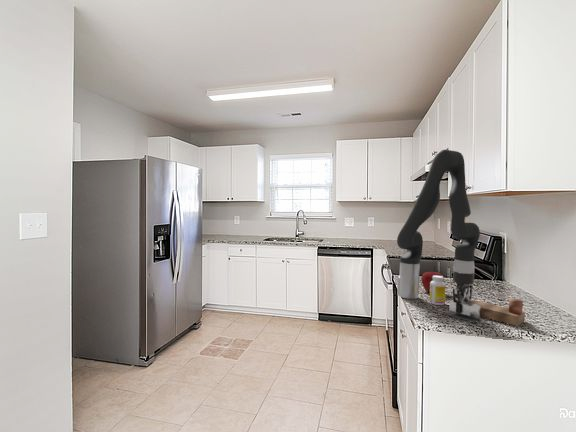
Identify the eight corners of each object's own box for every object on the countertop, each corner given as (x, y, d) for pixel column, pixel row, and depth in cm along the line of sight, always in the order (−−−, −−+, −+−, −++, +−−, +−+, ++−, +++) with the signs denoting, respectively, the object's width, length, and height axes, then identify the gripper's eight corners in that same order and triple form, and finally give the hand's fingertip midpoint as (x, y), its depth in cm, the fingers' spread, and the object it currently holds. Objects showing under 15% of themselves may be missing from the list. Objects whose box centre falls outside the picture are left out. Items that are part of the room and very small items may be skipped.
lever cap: (449, 310, 132) (449, 300, 132) (454, 308, 135) (455, 298, 135) (476, 317, 124) (477, 307, 124) (482, 315, 127) (482, 305, 127)
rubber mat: (443, 314, 133) (443, 313, 133) (450, 311, 138) (450, 309, 137) (474, 323, 124) (474, 321, 124) (481, 319, 128) (481, 317, 128)
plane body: (455, 310, 139) (456, 285, 139) (463, 306, 145) (464, 282, 144) (517, 326, 121) (519, 298, 120) (525, 321, 127) (526, 294, 126)
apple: (439, 290, 172) (439, 269, 172) (446, 295, 162) (447, 273, 161) (418, 289, 173) (418, 268, 173) (424, 294, 163) (425, 272, 162)
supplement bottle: (448, 304, 147) (449, 277, 147) (439, 306, 144) (440, 278, 143) (435, 300, 153) (436, 274, 152) (426, 302, 150) (427, 275, 149)
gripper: (461, 267, 137) (460, 305, 138) (446, 271, 128) (444, 312, 129) (480, 270, 132) (478, 310, 132) (465, 274, 123) (464, 317, 123)
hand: (461, 311), depth 131 cm, fingers closed on lever cap, 5 cm apart
